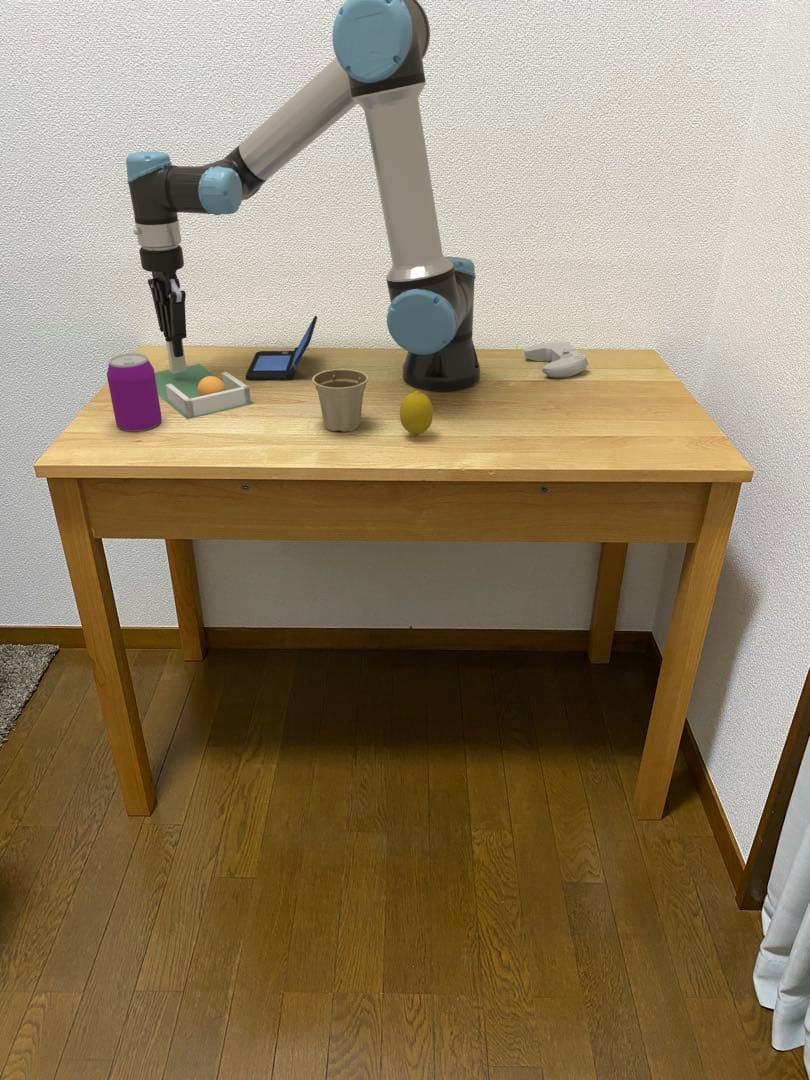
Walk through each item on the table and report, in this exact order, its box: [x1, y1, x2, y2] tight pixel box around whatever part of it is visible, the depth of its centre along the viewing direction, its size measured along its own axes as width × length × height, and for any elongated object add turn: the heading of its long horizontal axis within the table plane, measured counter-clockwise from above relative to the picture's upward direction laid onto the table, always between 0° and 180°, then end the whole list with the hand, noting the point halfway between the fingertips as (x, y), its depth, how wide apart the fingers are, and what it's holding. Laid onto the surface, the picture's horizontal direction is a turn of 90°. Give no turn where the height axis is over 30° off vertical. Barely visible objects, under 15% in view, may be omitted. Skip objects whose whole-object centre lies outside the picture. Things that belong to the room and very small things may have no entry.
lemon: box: [399, 390, 434, 437], centre depth 142 cm, size 6×6×8 cm
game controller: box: [523, 341, 589, 379], centre depth 172 cm, size 14×4×10 cm
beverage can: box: [106, 352, 163, 432], centre depth 145 cm, size 8×8×12 cm
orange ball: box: [197, 376, 226, 397], centre depth 154 cm, size 5×5×5 cm
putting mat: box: [154, 363, 255, 420], centre depth 162 cm, size 26×13×1 cm, turn 34°
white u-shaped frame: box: [166, 371, 252, 418], centre depth 155 cm, size 10×12×3 cm
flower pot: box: [311, 368, 369, 433], centre depth 145 cm, size 9×9×9 cm
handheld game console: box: [245, 315, 318, 382], centre depth 170 cm, size 16×13×9 cm
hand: (178, 371), depth 165 cm, fingers closed
